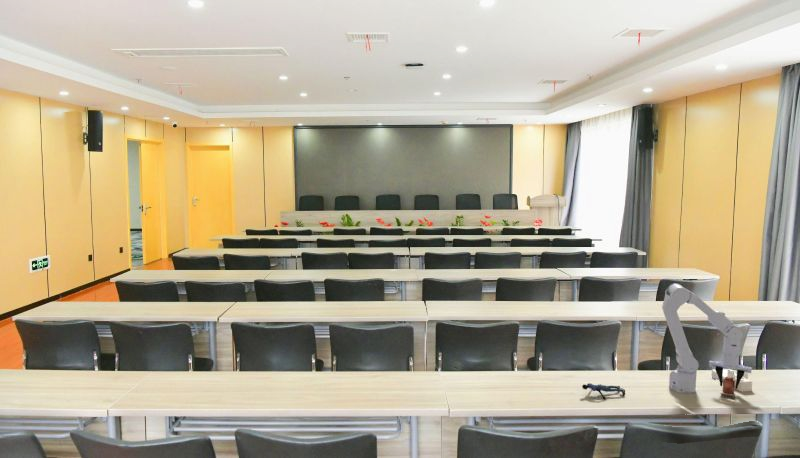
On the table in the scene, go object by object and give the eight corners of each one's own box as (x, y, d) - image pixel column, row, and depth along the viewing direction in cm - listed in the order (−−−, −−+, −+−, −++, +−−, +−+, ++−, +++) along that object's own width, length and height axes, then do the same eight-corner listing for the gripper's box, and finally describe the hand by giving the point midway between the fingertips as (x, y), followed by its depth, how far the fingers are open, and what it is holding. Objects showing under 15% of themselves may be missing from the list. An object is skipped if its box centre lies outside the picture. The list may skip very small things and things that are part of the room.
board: (735, 407, 212) (735, 404, 212) (717, 403, 215) (717, 401, 215) (737, 394, 225) (737, 392, 224) (720, 391, 228) (720, 388, 228)
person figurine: (615, 392, 230) (574, 389, 228) (616, 382, 230) (576, 378, 227) (629, 403, 220) (587, 399, 217) (631, 392, 219) (589, 388, 216)
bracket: (746, 388, 232) (748, 370, 231) (730, 388, 231) (731, 371, 231) (726, 377, 245) (728, 360, 244) (711, 377, 244) (712, 360, 244)
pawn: (727, 394, 222) (728, 379, 221) (720, 390, 226) (721, 376, 225) (736, 393, 222) (737, 379, 222) (728, 390, 226) (729, 375, 226)
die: (740, 394, 225) (741, 382, 225) (731, 389, 230) (732, 377, 230) (751, 393, 226) (752, 381, 226) (741, 388, 231) (742, 376, 231)
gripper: (709, 353, 223) (707, 385, 224) (752, 359, 215) (749, 393, 216) (710, 348, 229) (708, 380, 230) (752, 355, 221) (750, 388, 222)
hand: (728, 386), depth 224 cm, fingers open, 5 cm apart
